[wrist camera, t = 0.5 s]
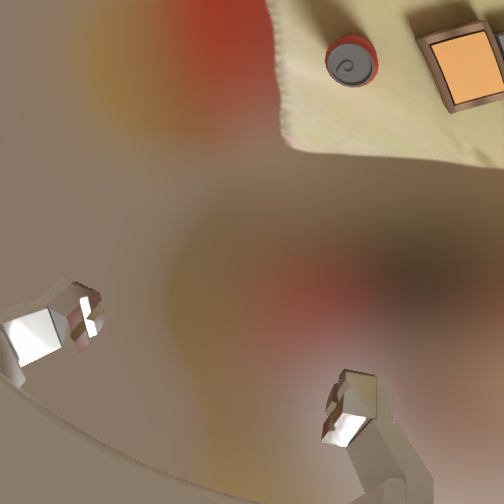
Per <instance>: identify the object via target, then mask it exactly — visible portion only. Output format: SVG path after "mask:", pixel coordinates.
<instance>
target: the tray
mask: <svg viewBox="0 0 504 504" xmlns="http://www.w3.org/2000/svg"><path fill="white" fill-rule="evenodd" d="M493 35H494V38H495V40H496V43H497V45H498V48H499V51H500V53H501V56H502V59H503V62H504V31H502V32H498V33H493Z"/></svg>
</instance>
